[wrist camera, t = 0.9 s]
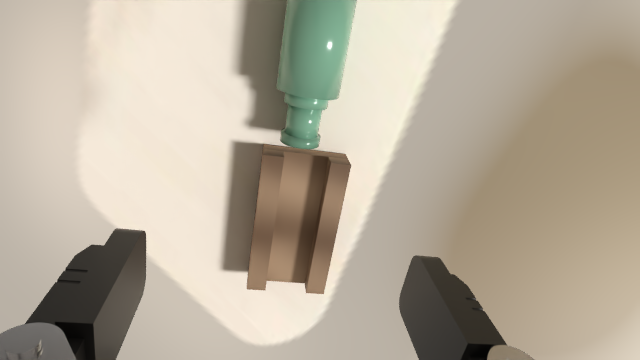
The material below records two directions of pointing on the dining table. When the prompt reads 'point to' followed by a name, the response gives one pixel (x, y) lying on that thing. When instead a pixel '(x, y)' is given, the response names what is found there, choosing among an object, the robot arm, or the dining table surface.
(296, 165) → the bottle rest
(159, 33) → the dining table surface
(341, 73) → the bottle
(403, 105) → the dining table surface
